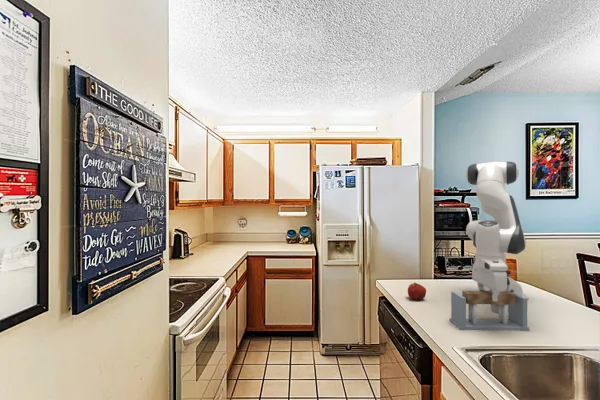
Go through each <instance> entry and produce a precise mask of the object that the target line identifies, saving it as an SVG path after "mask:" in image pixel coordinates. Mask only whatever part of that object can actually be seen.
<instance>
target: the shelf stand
mask: <svg viewBox="0 0 600 400" xmlns="http://www.w3.org/2000/svg"><path fill="white" fill-rule="evenodd" d="M511 293H513V292H511ZM513 294H515V293H513ZM450 295H451V296H450V297H451V298H450V299H451V300H450V301H451V302H450V303H451V304H450V305H451V308H450V309H451V311H450V317H449V319H448V320H449V322H450V323H452V325H454V326H455V327H456V328H457V329H459V330H463V331H464V330H468V331H472V330H473V331H527V332H528V331H530V327H528V299H526V298H524V297H522V296H520V295H518V294H515V305H499V313H498V318H477V307H478V306H477V305H478V304H467V303H466V298H465V297H463V296H462V294H460V293H458V292H457V291H455V290H454V291H452V290H451V292H450ZM467 305H468V315H467ZM467 316H468V317H467Z"/></svg>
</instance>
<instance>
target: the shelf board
mask: <svg viewBox="0 0 600 400" xmlns="http://www.w3.org/2000/svg"><path fill="white" fill-rule="evenodd" d="M461 293H462V294H461V295H462V296H463V297H465V298H466V305H468V304H477V305H491V304H496V305H515V294H513V293H511V292H509V291H505V292H499V295H498V300H497V301H492V300H491V296H492V294H493V292H492V291H479V290H462V292H461Z"/></svg>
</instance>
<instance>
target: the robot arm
mask: <svg viewBox="0 0 600 400" xmlns="http://www.w3.org/2000/svg"><path fill="white" fill-rule="evenodd" d="M519 175H520V174H519V167H518V166H517V164H516V163H515V162H513V161H490V162H482V163H473V164H469V166H468V167H467V170H466V172H465V177H466V180H467V182H468V184H470V185H472V186H476V189H475V190H476V191H475V192H476V198H477V199H478V201H479V202H480V208H481V211H482V212H483V213H485V214H486V215H489V216H491V217H492V218H493V219H494V220H492V219H491V220H490V219H488V220H487V219H486V220H485V219H478V220H471V221H469V222H468V224H467V225H466V228H465V231H466V235H467V237H468V238H469V239H470V240H471V241H473V242H472V246H474V247H475V248H476V250H475V257H474V258H475V260H474V263H473V264H472V269H471V271H472V272H471V279H472V281H474V282H476V285H477V287H478V288H477V289H478V291H490V289H492V292H493V294H492V296H491V300H492V301H497V300H498V295H499V292H505V291H506V289H507V278H509V281H510V284H509V292H513V293H515V294H518V295H520V296H522V297H524V298H526V299H527V300H529V296H528V295H527V294H524V291H523V287H522V285H521V284H520V283H518V282H517V281H516V280H515V279H513V278H512V277H511V276H513V275H514V274H515V273H514V271H513V270H509V267H508V265H507V255H506V254H512V255H518V254H520V253H523V252H524V251H525V249H526V245H527V240H526V236H525V234H524V229H523V226H522V225H521V221H520V216H519V213H518V209H517V208H518V207H517V206H516V202H515V199H514V197H513V196H512V195H510V194H509V193H507V191H506V186H505V185H508V186H509V184H510V185H511V184H513V183H515V182H516V181H517V179H518V177H519Z"/></svg>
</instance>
